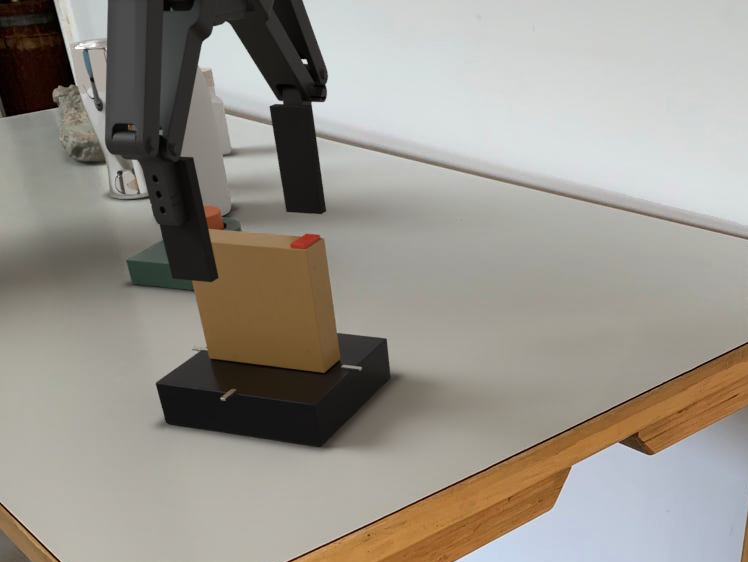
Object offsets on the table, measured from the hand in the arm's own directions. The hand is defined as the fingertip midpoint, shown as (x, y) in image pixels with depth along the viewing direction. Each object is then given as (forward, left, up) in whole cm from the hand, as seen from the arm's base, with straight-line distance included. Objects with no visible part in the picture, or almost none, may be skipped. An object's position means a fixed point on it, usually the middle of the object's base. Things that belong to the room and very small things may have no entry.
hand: (255, 243), depth 62 cm
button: (-20, +22, -7) cm, 31 cm away
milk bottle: (-32, +38, -11) cm, 51 cm away
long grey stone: (-68, +68, -11) cm, 97 cm away
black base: (0, 0, -11) cm, 11 cm away
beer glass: (-44, +44, -11) cm, 63 cm away
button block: (-20, +22, -11) cm, 32 cm away
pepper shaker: (-45, +62, -11) cm, 78 cm away
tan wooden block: (0, 0, -8) cm, 8 cm away
